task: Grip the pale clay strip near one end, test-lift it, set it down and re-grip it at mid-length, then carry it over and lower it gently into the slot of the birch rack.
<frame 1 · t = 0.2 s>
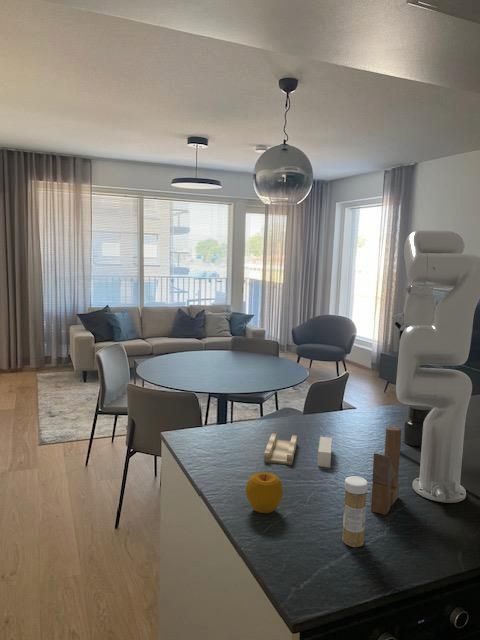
hand: (417, 342, 163), 31 cm above the kitchen island, fingers open, 9 cm apart
rack: (281, 452, 146), on the kitchen island
sprinkles bottle: (353, 542, 100), on the kitchen island
strip: (324, 459, 142), on the kitchen island
ink bottle: (417, 443, 156), on the kitchen island
apple: (263, 511, 112), on the kitchen island
stepped wooden upright: (385, 505, 116), on the kitchen island
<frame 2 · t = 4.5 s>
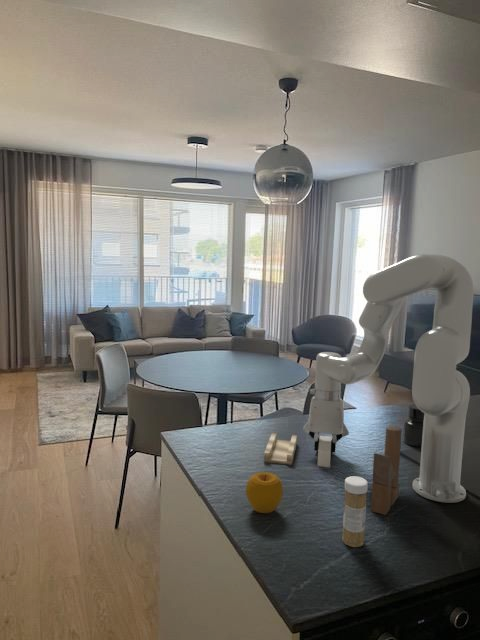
hand: (324, 452, 145), 0 cm above the kitchen island, fingers closed on strip, 3 cm apart
strip: (324, 458, 143), on the kitchen island, touching gripper
everything else where it was.
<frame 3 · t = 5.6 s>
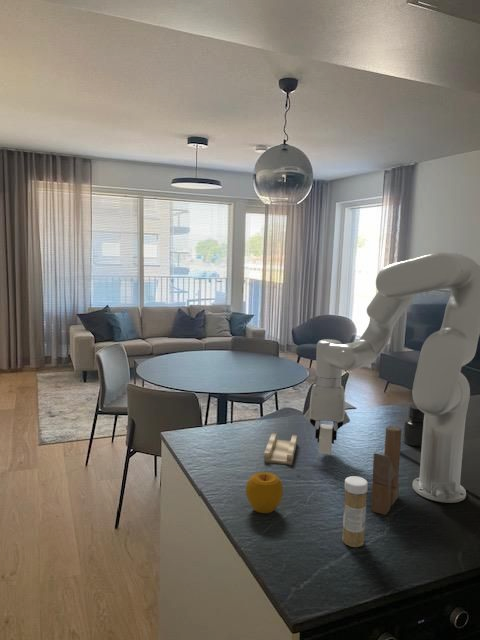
hand: (325, 440, 145), 4 cm above the kitchen island, fingers closed on strip, 3 cm apart
strip: (325, 445, 142), point 4 cm above the kitchen island, touching gripper
everything else where it was.
when the fingers open (1 cm above the kitchen island, at t = 6.7 s): strip stays where it is, on the kitchen island.
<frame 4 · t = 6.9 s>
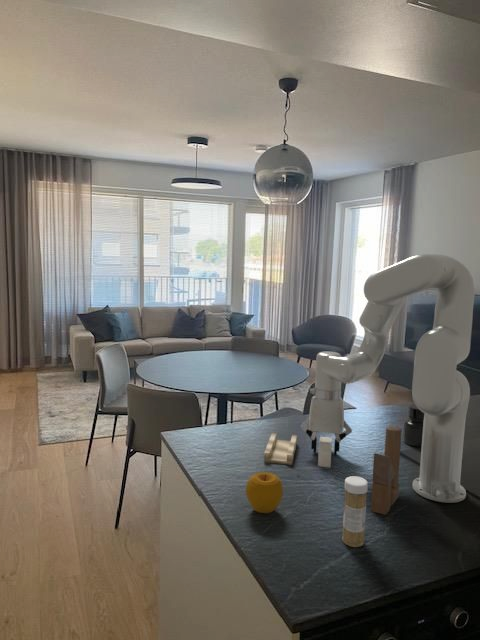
hand: (325, 451, 145), 1 cm above the kitchen island, fingers open, 5 cm apart
strip: (324, 458, 142), on the kitchen island
everything else where it was.
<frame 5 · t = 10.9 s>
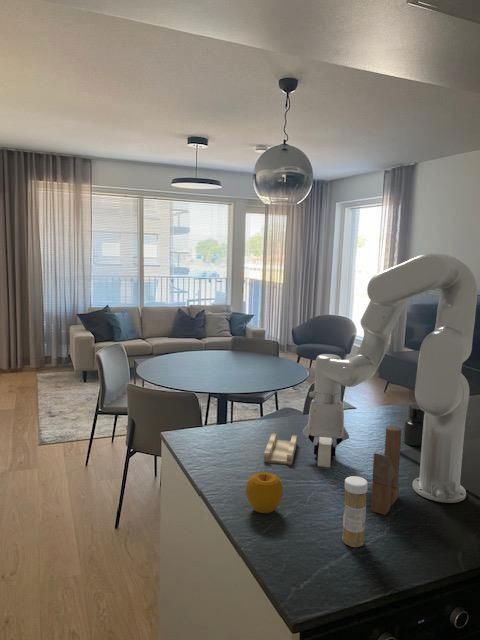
hand: (324, 457, 142), 0 cm above the kitchen island, fingers closed on strip, 3 cm apart
strip: (324, 458, 143), on the kitchen island, touching gripper
everything else where it was.
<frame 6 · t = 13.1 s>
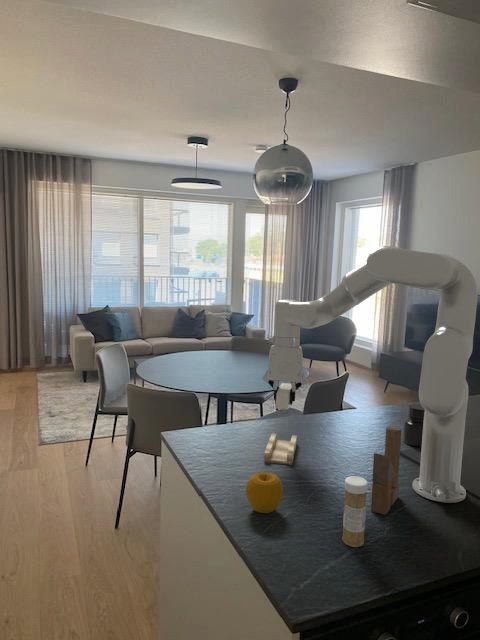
hand: (284, 402, 144), 16 cm above the kitchen island, fingers closed on strip, 3 cm apart
strip: (284, 403, 144), point 15 cm above the kitchen island, touching gripper
everything else where it was.
when the fingers open (4 cm above the kitchen island, at t = 15.6 s): strip drops 3 cm, resting on rack.
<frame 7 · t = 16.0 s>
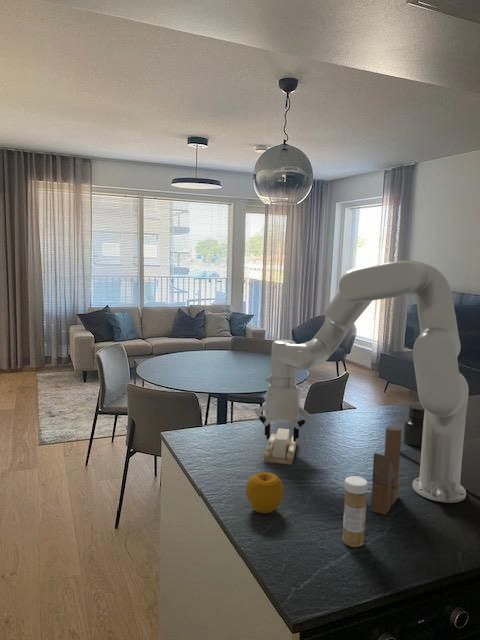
hand: (281, 438, 145), 4 cm above the kitchen island, fingers open, 7 cm apart
strip: (281, 449, 146), point 1 cm above the kitchen island, touching rack
everything else where it was.
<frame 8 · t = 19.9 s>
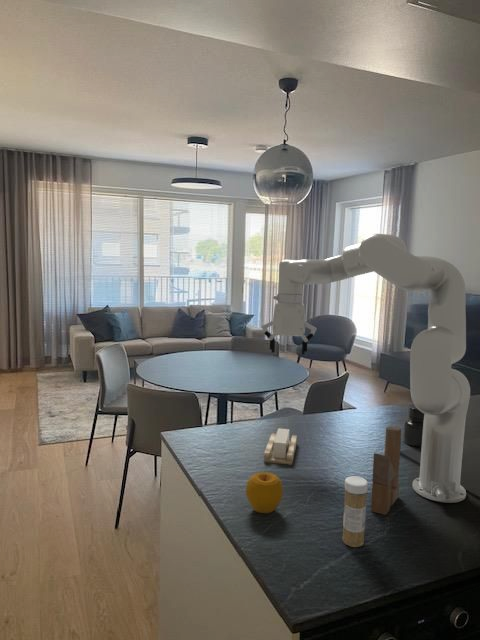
hand: (288, 352, 154), 28 cm above the kitchen island, fingers open, 9 cm apart
nothing on the kitchen island moved.
at the end: strip inside the target area on the rack (0.1 cm from its centre), point 0.8 cm above the rack's base; strip tilted 0°; the gripper is holding nothing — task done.
